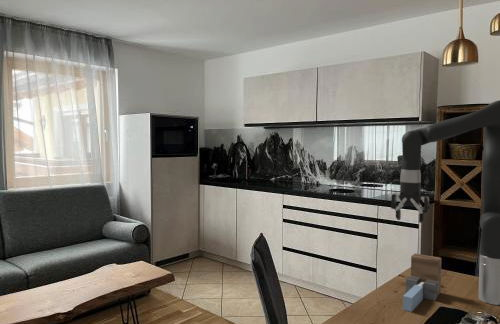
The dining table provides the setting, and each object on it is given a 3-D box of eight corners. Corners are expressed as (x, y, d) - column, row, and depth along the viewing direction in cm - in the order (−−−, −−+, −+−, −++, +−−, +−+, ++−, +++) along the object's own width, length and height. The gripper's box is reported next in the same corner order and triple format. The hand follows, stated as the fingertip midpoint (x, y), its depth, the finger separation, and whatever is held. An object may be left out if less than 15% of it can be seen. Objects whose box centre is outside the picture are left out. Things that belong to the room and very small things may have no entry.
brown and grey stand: (413, 286, 159) (414, 253, 158) (441, 292, 152) (442, 258, 152) (405, 293, 151) (406, 258, 151) (434, 300, 145) (435, 264, 144)
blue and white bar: (418, 293, 152) (418, 281, 151) (426, 295, 150) (426, 283, 150) (402, 309, 137) (403, 295, 137) (411, 312, 135) (411, 298, 135)
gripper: (432, 181, 152) (431, 222, 153) (395, 179, 161) (394, 217, 162) (426, 182, 146) (425, 225, 147) (389, 180, 155) (388, 220, 156)
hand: (409, 221), depth 154 cm, fingers open, 8 cm apart
